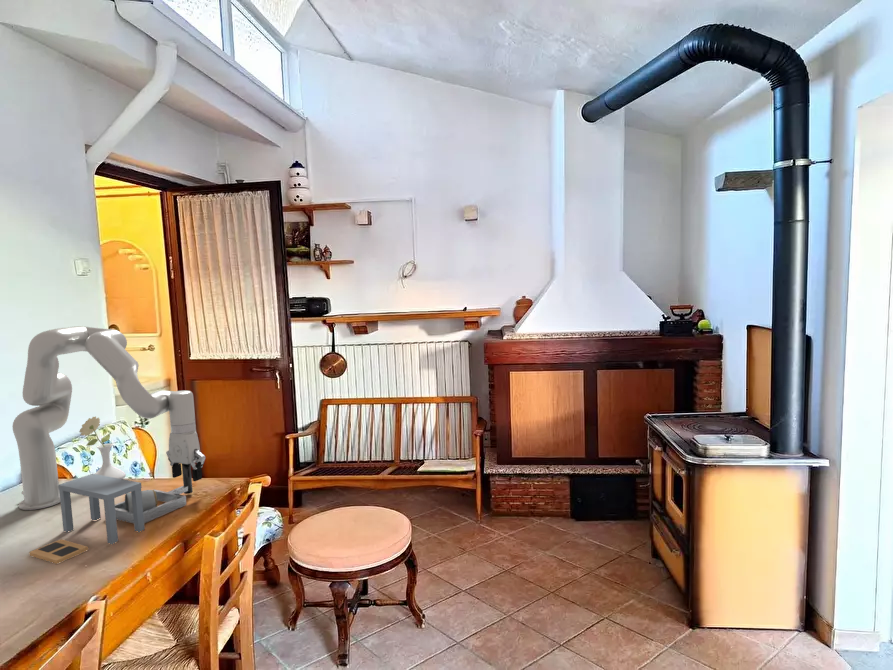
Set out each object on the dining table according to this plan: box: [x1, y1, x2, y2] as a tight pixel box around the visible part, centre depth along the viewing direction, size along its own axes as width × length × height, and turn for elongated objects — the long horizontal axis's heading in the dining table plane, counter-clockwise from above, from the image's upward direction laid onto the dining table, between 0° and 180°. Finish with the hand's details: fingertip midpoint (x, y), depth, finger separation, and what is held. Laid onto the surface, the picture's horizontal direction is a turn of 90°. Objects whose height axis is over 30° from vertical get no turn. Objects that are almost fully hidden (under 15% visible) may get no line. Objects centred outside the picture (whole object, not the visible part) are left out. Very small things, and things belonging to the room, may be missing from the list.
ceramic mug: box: [124, 489, 158, 512], centre depth 173 cm, size 11×8×8 cm
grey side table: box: [58, 473, 146, 545], centre depth 161 cm, size 22×10×14 cm, turn 64°
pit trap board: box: [28, 538, 89, 565], centre depth 149 cm, size 12×8×1 cm, turn 64°
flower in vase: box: [78, 416, 127, 480], centre depth 201 cm, size 13×11×25 cm
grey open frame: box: [115, 464, 193, 525], centre depth 178 cm, size 15×24×10 cm, turn 154°
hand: (187, 478), depth 187 cm, fingers open, 9 cm apart
